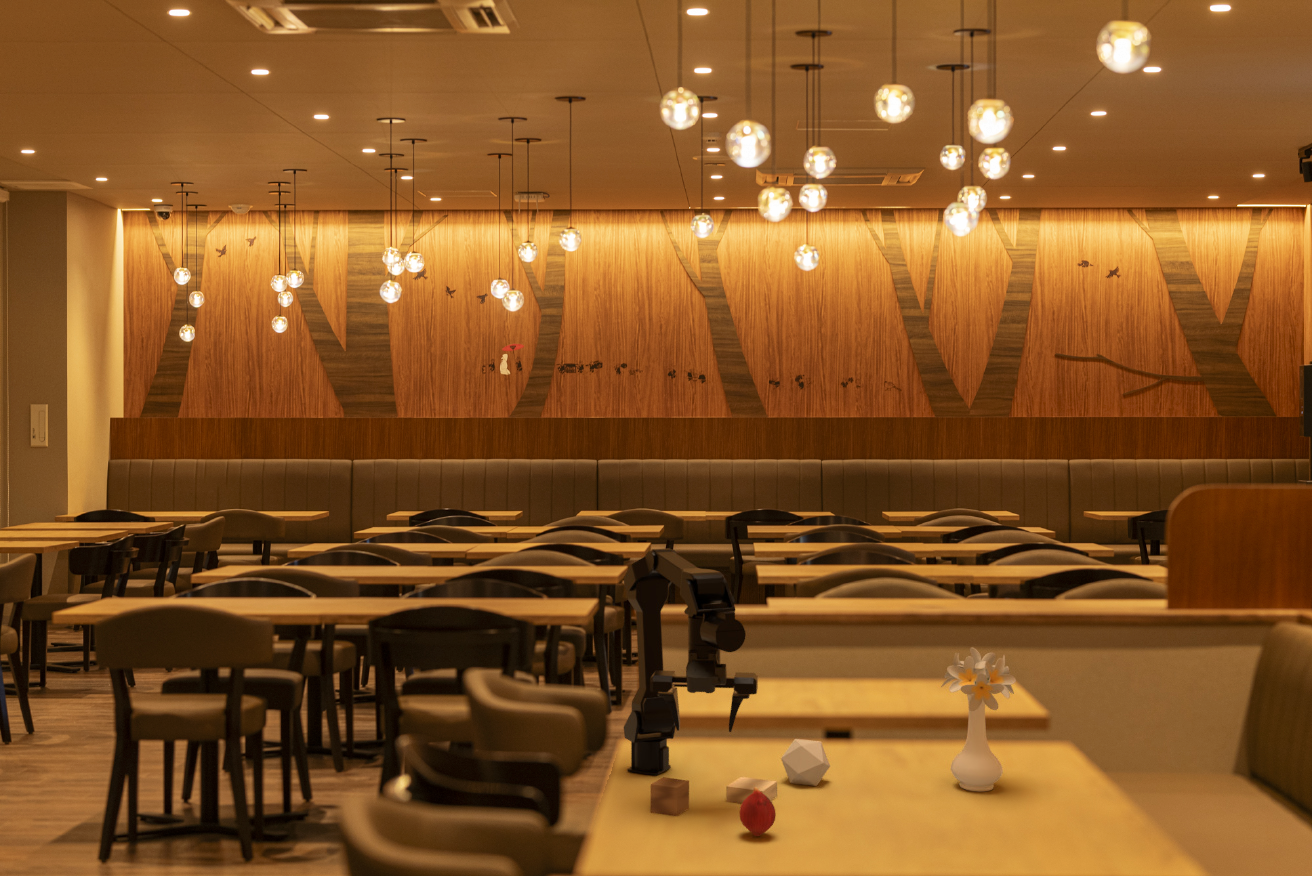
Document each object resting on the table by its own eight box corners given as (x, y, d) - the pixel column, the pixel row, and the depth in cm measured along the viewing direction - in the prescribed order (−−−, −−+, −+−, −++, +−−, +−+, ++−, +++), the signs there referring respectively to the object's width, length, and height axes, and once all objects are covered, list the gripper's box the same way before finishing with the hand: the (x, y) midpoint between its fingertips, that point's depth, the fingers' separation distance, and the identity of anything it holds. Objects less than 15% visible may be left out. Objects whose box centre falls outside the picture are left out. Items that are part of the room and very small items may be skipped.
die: (835, 783, 244) (814, 736, 248) (837, 771, 236) (815, 724, 241) (796, 800, 243) (775, 753, 248) (796, 789, 236) (775, 740, 240)
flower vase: (958, 803, 229) (958, 663, 228) (932, 774, 247) (932, 644, 247) (1030, 802, 229) (1031, 662, 229) (999, 774, 248) (999, 644, 247)
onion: (779, 832, 213) (779, 784, 212) (770, 843, 207) (770, 794, 207) (744, 829, 215) (744, 781, 214) (735, 839, 209) (735, 790, 209)
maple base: (726, 803, 230) (726, 786, 230) (741, 793, 237) (741, 776, 237) (762, 808, 227) (762, 791, 227) (777, 797, 233) (777, 781, 233)
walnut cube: (650, 812, 224) (650, 784, 224) (663, 805, 228) (663, 777, 228) (676, 816, 221) (676, 787, 221) (689, 809, 226) (689, 780, 226)
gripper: (646, 649, 221) (646, 740, 221) (755, 652, 219) (755, 743, 219) (653, 638, 232) (654, 725, 232) (757, 641, 230) (757, 728, 230)
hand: (704, 730), depth 228 cm, fingers open, 9 cm apart
